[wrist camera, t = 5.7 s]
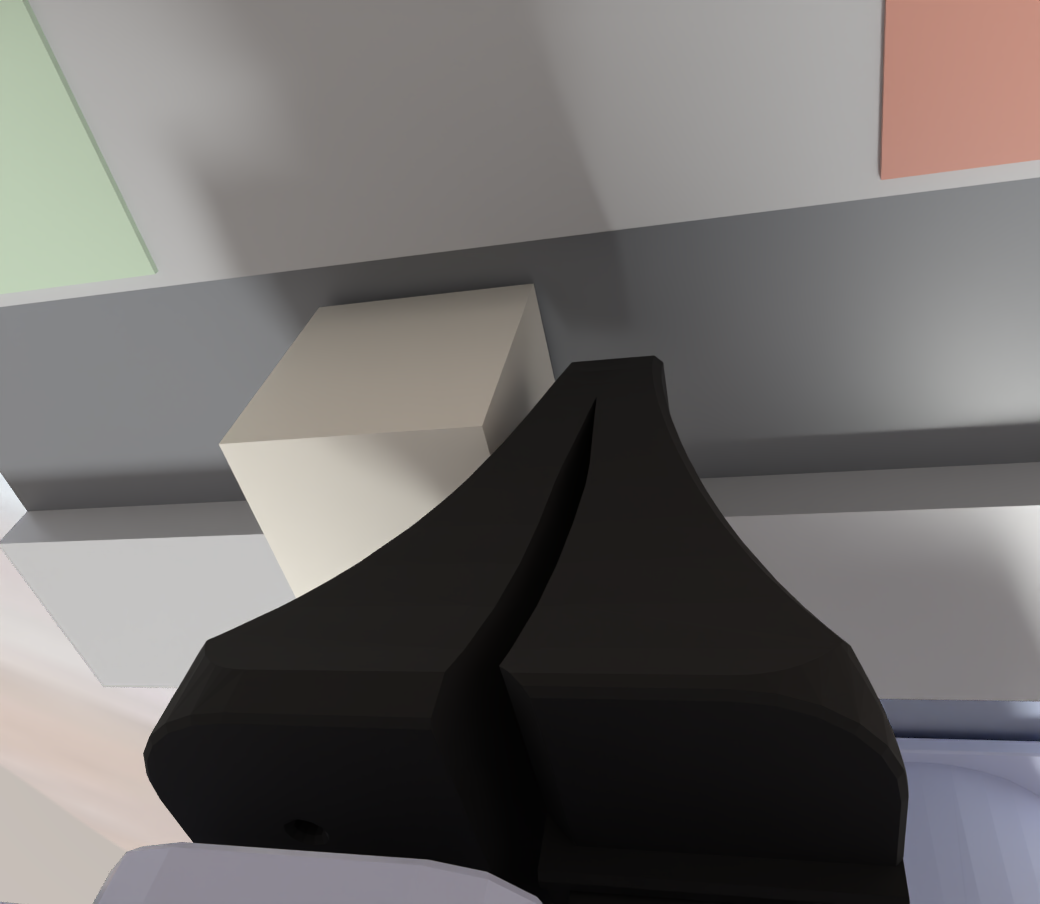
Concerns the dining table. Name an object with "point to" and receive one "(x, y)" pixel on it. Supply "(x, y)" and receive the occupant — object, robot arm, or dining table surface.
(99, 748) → the dining table surface
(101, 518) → the breaker panel
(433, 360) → the switch
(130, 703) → the dining table surface
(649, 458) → the robot arm
